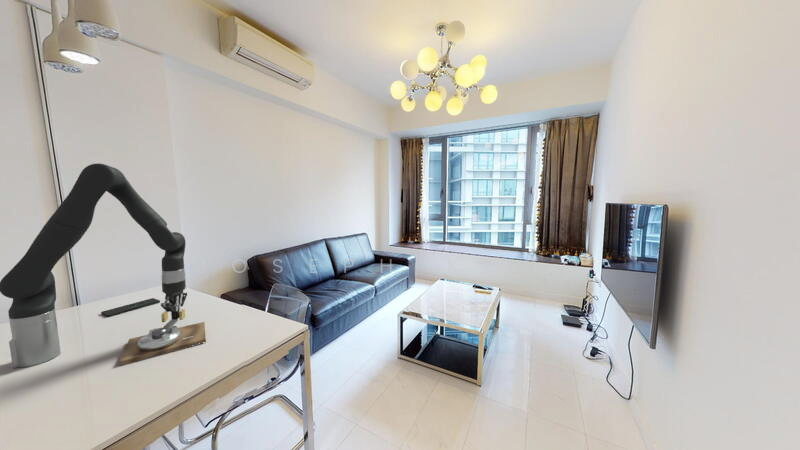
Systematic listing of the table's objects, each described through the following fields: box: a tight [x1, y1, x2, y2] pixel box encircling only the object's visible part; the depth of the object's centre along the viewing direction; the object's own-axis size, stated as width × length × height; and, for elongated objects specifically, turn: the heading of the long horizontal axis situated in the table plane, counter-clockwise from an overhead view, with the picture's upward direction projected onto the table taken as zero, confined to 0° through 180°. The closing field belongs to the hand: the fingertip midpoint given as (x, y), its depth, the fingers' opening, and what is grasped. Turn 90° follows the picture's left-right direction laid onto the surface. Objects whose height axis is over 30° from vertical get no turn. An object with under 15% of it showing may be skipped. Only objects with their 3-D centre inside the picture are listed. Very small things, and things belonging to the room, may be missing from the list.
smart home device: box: [100, 297, 161, 318], centre depth 133 cm, size 8×2×20 cm
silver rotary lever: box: [138, 308, 186, 351], centre depth 103 cm, size 12×20×7 cm, turn 21°
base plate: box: [118, 321, 207, 366], centre depth 103 cm, size 24×18×2 cm
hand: (175, 318), depth 110 cm, fingers closed
